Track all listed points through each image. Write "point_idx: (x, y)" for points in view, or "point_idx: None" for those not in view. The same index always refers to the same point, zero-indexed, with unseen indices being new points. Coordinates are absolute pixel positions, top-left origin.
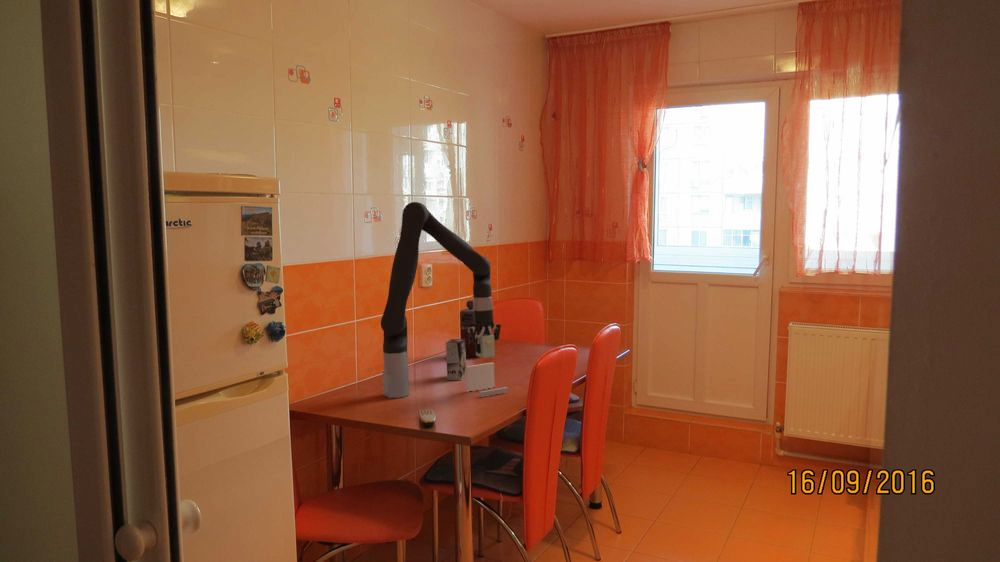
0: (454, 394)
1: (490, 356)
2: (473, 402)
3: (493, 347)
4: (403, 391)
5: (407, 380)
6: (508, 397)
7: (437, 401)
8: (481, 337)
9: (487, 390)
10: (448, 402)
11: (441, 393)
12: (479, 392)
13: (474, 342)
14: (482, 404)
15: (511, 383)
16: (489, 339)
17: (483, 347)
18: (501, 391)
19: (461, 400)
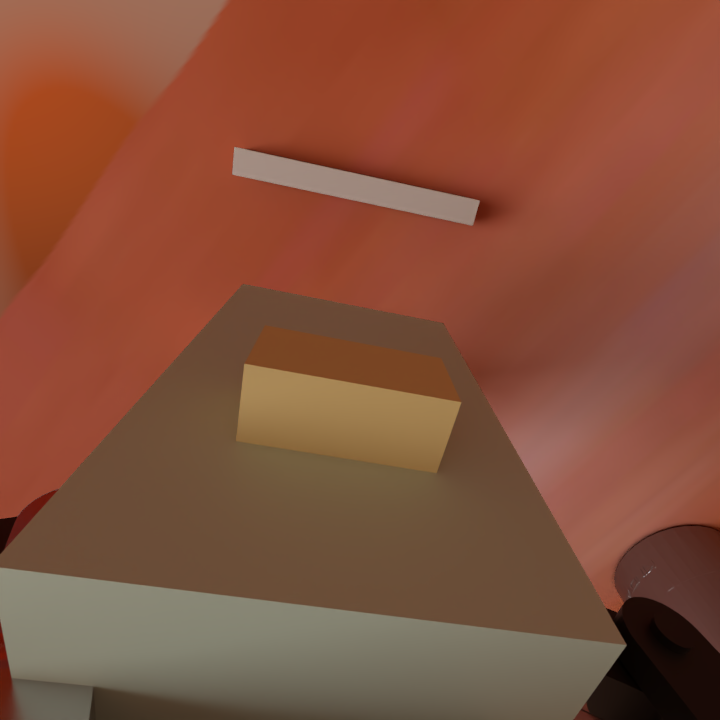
0: (504, 389)
1: (324, 300)
2: (596, 131)
3: (223, 341)
4: (715, 547)
5: (717, 603)
6: (330, 21)
7: (685, 340)
8: (570, 676)
9: (403, 206)
10: (675, 270)
11: (528, 455)
12: (474, 216)
13: (655, 608)
14: (609, 18)
15: (75, 336)
16: (292, 487)
17: (476, 401)
18: (297, 160)
19: (594, 245)
